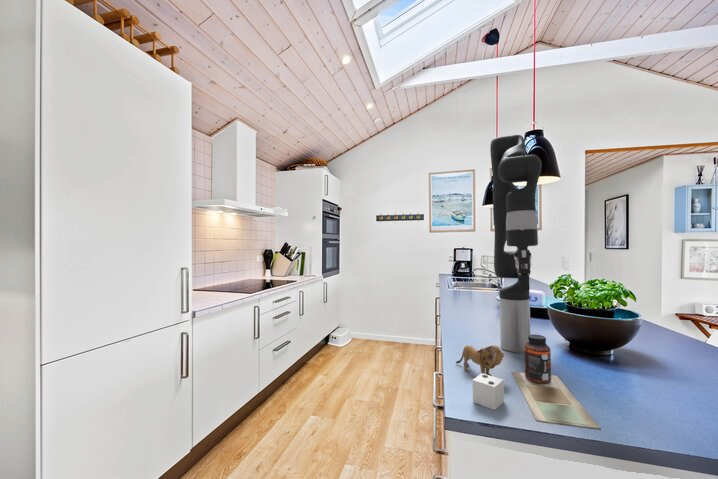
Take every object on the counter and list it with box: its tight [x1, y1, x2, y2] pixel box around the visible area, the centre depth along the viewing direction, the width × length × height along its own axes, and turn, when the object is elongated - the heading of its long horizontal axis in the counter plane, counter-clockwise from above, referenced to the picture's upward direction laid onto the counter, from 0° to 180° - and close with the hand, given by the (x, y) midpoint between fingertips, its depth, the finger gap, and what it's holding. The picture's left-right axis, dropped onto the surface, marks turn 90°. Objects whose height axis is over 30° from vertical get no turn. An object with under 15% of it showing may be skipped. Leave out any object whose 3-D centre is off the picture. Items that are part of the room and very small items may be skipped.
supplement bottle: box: [523, 333, 552, 384], centre depth 79 cm, size 6×6×11 cm
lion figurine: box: [455, 344, 505, 376], centre depth 85 cm, size 15×5×9 cm, turn 34°
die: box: [472, 373, 505, 411], centre depth 69 cm, size 5×5×5 cm
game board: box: [511, 371, 601, 430], centre depth 71 cm, size 11×24×1 cm, turn 164°
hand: (523, 288), depth 81 cm, fingers open, 8 cm apart
